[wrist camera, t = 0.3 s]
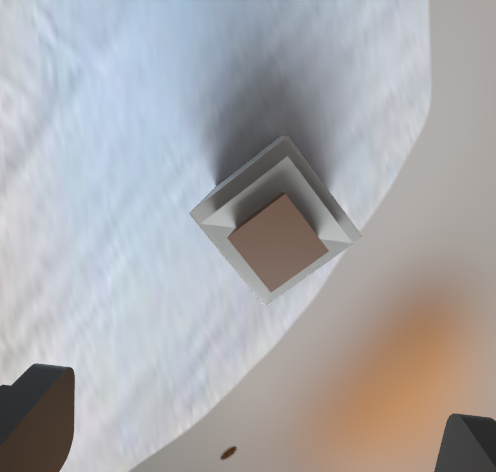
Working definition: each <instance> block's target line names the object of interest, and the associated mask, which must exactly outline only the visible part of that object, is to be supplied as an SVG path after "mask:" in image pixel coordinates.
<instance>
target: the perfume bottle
mask: <svg viewBox="0 0 496 472" xmlns="http://www.w3.org/2000/svg"><path fill="white" fill-rule="evenodd" d="M189 214H190V215H191V217H192V218H193V219H194V220H195V222H196V223H197V224H198V225H199V226H200V228H201V229H202V230H203V231H204V233H205V234H206V235H207V236H208V238H209V239H210V240H211V241H212V243H213V244H214V245H215V246H216V247H217V249H218V250H219V251H220V252H221V254H222V255H223V256H224V257H225V259H226V260H227V261H228V262H229V264H230V265H231V266H232V267H233V268H234V270H235V271H236V272H237V273H238V275H239V276H240V277H241V278H242V280H243V281H244V282H245V283H246V284H247V286H248V287H249V288H250V289H251V291H252V292H253V293H254V294H255V296H256V297H257V298H258V299H259V301H260V302H261V303H262V304H263V305H264V306H265V305H267V304H269V303H270V302H272V301H273V300H274V299H276V298H277V297H279V296H280V295H282V294H283V293H284V292H286V291H287V290H289V289H290V288H291V287H293V286H294V285H296V284H297V283H298V282H300V281H301V280H303V279H304V278H305V277H307V276H308V275H310V274H311V273H312V272H314V271H315V270H317V269H318V268H320V267H321V266H322V265H324V264H325V263H327V262H328V261H329V260H331V259H332V258H334V257H335V256H336V255H338V254H339V253H341V252H342V251H343V250H345V249H346V248H348V247H349V246H350V245H352V244H353V242H355V241H356V240H357V239H359V238H360V237H362V235H361V234H360V232H359V231H358V230H357V228H356V227H355V226H354V224H353V223H352V222H351V220H350V219H349V218H348V216H347V215H346V213H345V212H344V211H343V209H342V208H341V207H340V205H339V204H338V203H337V201H336V200H335V199H334V197H333V196H332V195H331V193H330V192H329V190H328V189H327V188H326V186H325V185H324V184H323V182H322V181H321V180H320V178H319V177H318V176H317V174H316V173H315V172H314V170H313V169H312V167H311V166H310V165H309V163H308V162H307V161H306V159H305V158H304V157H303V155H302V154H301V153H300V151H299V150H298V149H297V147H296V146H295V144H294V143H293V142H292V140H291V139H290V138H289V136H282V137H278V138H277V139H276V140H274V141H273V142H272V143H271V144H269V145H268V146H267V147H266V148H264V149H263V150H262V151H261V152H259V153H258V154H257V155H255V156H254V157H253V158H252V159H250V160H249V161H248V162H247V163H245V164H244V165H243V166H241V167H240V168H239V169H238V170H236V171H235V172H234V173H233V174H231V175H230V176H229V177H227V178H226V179H225V180H224V181H222V182H221V183H220V184H219V185H217V186H216V187H215V188H214V189H213V190H212V191H211V192H210V193H209V194H208V195H207V196H206V197H205V198H204V199H203V200H202V201H201V202H200V203H199V204H198V205H197V206H196V207H195V208H194V209H193V210H192V211H191V212H190V213H189Z"/></svg>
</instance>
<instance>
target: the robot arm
mask: <svg viewBox="0 0 496 472" xmlns="http://www.w3.org/2000/svg"><path fill="white" fill-rule="evenodd" d="M74 390H75V376H74V371H73V369H72V368H70V367H62V366H54V365H45V364H33V365H32V366H31V367H30V368H29V369H28V370H27V371H26V372H25V373H24V374H23V375H21V376H20V377H19V378H18V379H17V380H16V381H15V382H14V383H13V384H12V385H11V386H9V385H1V386H0V472H59V471H60V470H61V468H62V466H63V465H64V463H65V461H66V459H67V457H68V454H69V451H70V448H71V445H72V440H73V435H74ZM434 472H496V421H495V420H493V419H492V418H488V417H480V416H471V415H463V414H452V415H450V416H449V418H448V420H447V423H446V427H445V430H444V435H443V439H442V443H441V447H440V451H439V455H438V459H437V463H436V467H435V471H434Z"/></svg>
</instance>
